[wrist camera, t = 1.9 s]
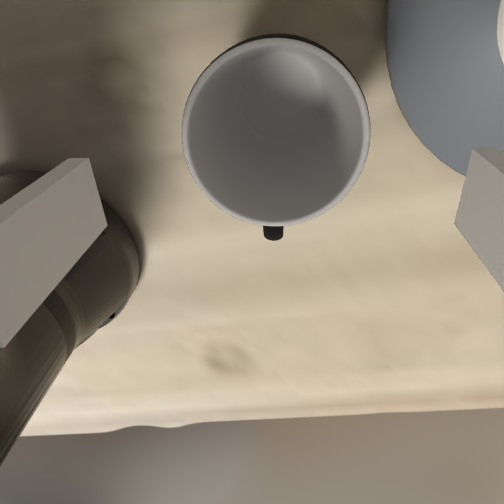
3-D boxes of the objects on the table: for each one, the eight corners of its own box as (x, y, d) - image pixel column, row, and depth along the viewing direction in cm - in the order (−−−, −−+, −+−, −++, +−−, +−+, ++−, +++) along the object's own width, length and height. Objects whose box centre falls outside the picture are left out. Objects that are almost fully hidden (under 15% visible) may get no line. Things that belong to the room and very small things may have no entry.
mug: (211, 25, 25) (169, 36, 17) (354, 24, 25) (387, 36, 16) (220, 198, 32) (193, 271, 23) (334, 202, 31) (350, 278, 22)
